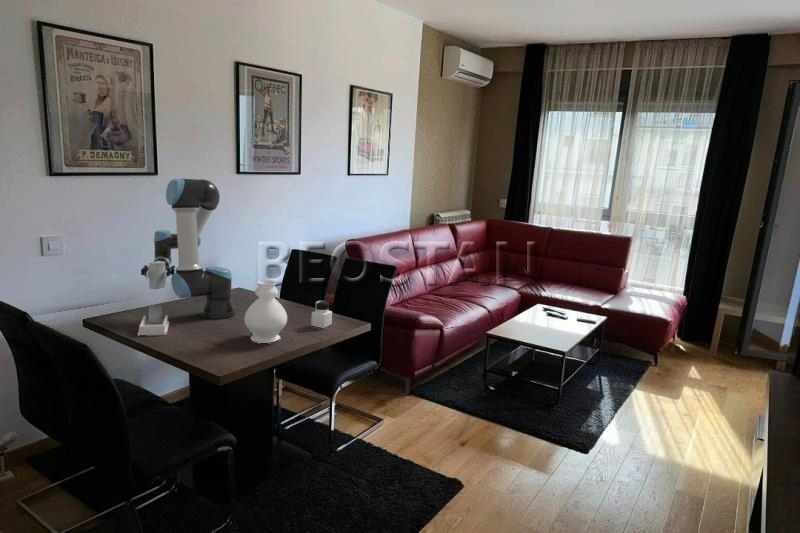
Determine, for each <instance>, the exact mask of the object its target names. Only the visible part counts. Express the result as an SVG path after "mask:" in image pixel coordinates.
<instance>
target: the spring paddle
mask: <svg viewBox="0 0 800 533" xmlns="http://www.w3.org/2000/svg"><path fill="white" fill-rule="evenodd" d="M162 305H163V304H150V305H148V319H149V323H162V319H163V306H162Z"/></svg>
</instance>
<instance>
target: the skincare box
mask: <svg viewBox="0 0 800 533" xmlns="http://www.w3.org/2000/svg"><path fill="white" fill-rule="evenodd" d="M148 267H149V278H148V288H149V289H151V290H160V289H163V288H165V287H166V280H167V279H164V273H165V262H162V261H156V262H154V261H151V262H149V263H148Z"/></svg>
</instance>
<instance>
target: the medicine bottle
mask: <svg viewBox="0 0 800 533" xmlns="http://www.w3.org/2000/svg"><path fill="white" fill-rule="evenodd" d="M329 304H330V303H329V301H326V300H318V301H316V302H315V310H314V311H312V312H311V316H310V317H311V320H310V321H311V322H310V326H311V325H312V326H316V327H321V328H325V327H327V326H329V325H331V324H332V322H333V321H332V320H333V311H331V310H329V308H330V305H329ZM332 325H333V324H332ZM332 325H331V326H332ZM316 327H315V328H316ZM327 328H328V327H327ZM325 329H326V328H325Z"/></svg>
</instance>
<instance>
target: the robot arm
mask: <svg viewBox="0 0 800 533" xmlns="http://www.w3.org/2000/svg"><path fill="white" fill-rule="evenodd" d="M165 199H166V203H167V204H168V205H170V206H171V210H172V211H173V212H174V213H175V220H176V222H175V223H176V233H171V232H172V231H171V230H168V229H159V230H156V231H155V232H154V238H153V240H154V241H153V242H154V260H153V262H156V261H162V262H165V273H164V279H165V280H167V277H170V276H171V278H170V281H171V286H172V287H171V288H172V290H173V292H174V294H175V296H177V298H180V299H190V298H191V299H192V298H196V297H205V301H204V304H203V306H202V308H201V316H202V317H203V318H206V319H213V320H221V319H230V318H232V317H234V316H235V314H236V309H235V306H234V304H233V300H232V280H233V278H232V271H231V270H230V269H229V268H226V267H222V266H221V267H220V266H207V267H205V270H204V269H203V266H202V265H201V264H200V259H199V258H200V256H199V255H200V254H199V247H200V246H201V242H202V239H201V233H202V231H203V229H204V227H205V225H206V224H207V222H208V219H209V217H210V216H211V214H212V212H213V211H214V210H216V209H217V208H218V205H219V204H220V191H219V190H218V187H217V186H216V185H215V184H214V183H213V182H212V181H211V180H207V179H202V178H201V179H197V178H196V179H194V178H173V179H171V180H170V181H169V183H167V186H166V190H165ZM175 249H176V250H177V252H178V254H177V255H178V266H177V267H176V265H171V264H172V250H175ZM140 275H141V276H144V277H145V279H146V280H149V265H146V264H145V265H143V267H142V268H141V270H140Z"/></svg>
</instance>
